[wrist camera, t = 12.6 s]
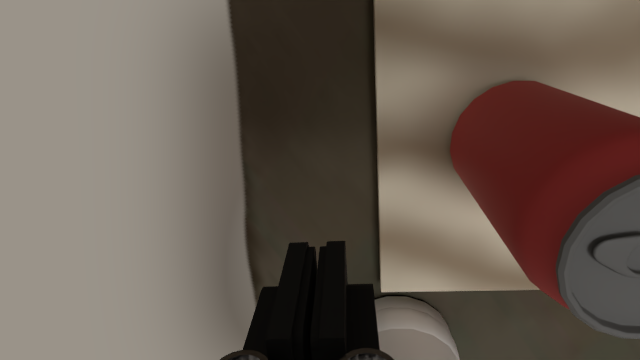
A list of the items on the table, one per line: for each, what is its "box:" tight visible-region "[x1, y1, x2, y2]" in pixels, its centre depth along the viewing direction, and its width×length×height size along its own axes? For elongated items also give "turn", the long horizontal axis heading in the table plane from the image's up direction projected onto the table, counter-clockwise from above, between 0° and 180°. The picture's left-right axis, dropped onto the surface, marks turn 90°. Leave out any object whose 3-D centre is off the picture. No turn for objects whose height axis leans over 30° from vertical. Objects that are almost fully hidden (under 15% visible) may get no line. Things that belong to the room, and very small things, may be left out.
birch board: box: [373, 0, 640, 292], centre depth 23 cm, size 18×16×1 cm
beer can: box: [450, 81, 640, 339], centre depth 16 cm, size 7×7×12 cm
